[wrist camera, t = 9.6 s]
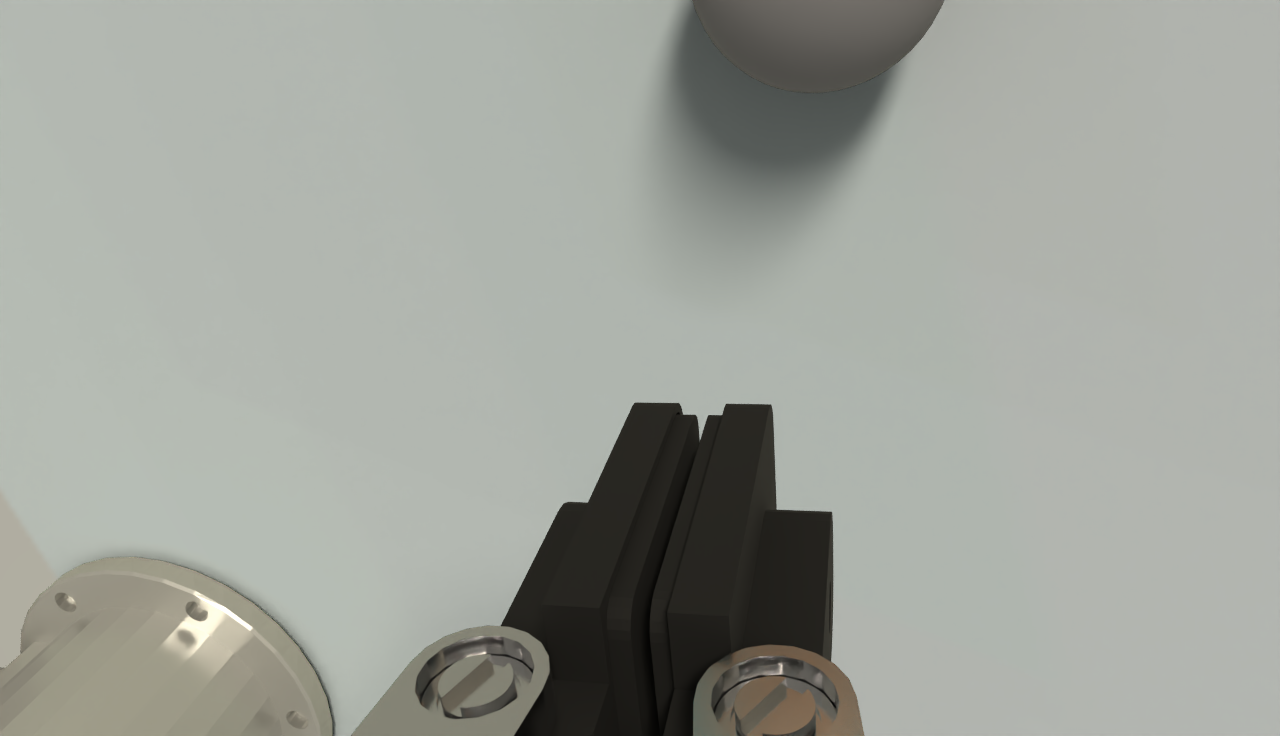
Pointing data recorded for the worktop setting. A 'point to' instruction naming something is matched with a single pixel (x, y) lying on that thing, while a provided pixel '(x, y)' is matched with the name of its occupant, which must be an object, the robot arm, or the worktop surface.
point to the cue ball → (815, 38)
